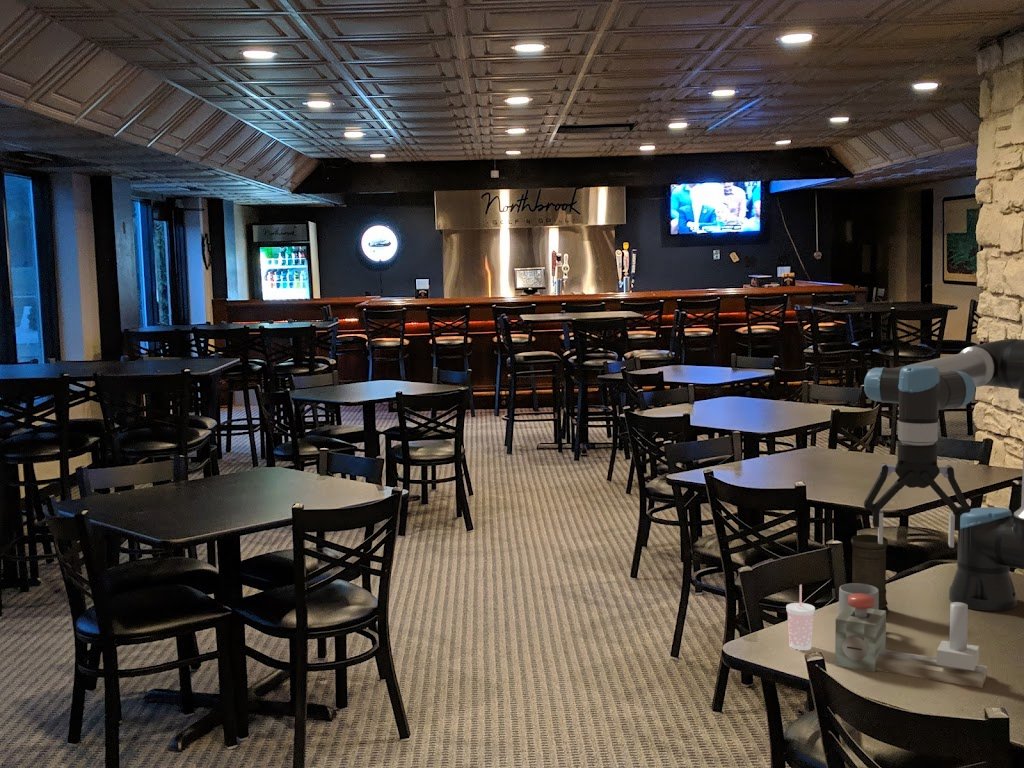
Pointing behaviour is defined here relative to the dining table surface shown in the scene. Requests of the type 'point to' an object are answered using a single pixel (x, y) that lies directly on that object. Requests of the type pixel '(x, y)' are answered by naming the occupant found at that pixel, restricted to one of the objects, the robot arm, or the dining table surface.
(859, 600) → the button
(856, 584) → the mug
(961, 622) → the carriage
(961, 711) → the dining table surface
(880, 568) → the container
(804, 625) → the beverage cup
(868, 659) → the rail rig
